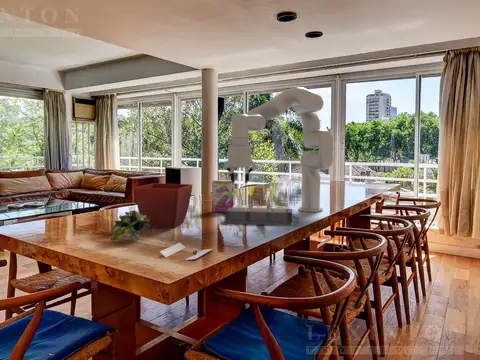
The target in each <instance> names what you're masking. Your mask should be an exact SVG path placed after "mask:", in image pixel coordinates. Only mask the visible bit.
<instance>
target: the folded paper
mask: <svg viewBox="0 0 480 360" xmlns="http://www.w3.org/2000/svg"><path fill="white" fill-rule="evenodd" d="M183 249H186V247H185V245H183V243H181V242H178V243H175V244H173V245H171V246H169V247H167V248H165V249H162V250H160V251H159V253H161V255H162V256H164V257H165V258H168V257H169V256H171V255H174V254H175V253H177V252H179V251H182V250H183ZM212 250H213V248H209V249H203V250H200V251H199V252H198V250H195V251H192V255H191V256H190V257H187V258H185V259H184V260H185V261H188V260H196V259H199V258H200V257H201V256H203V255H205V254H207V253H208V252H211V251H212Z"/></svg>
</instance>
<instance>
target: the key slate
mask: <svg viewBox="0 0 480 360" xmlns="http://www.w3.org/2000/svg"><path fill="white" fill-rule="evenodd" d="M247 208H248V205H245V204H244V205H240V204H239V205H237V204H234V206H233V207H232V211H247Z"/></svg>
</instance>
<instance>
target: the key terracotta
mask: <svg viewBox="0 0 480 360" xmlns="http://www.w3.org/2000/svg"><path fill="white" fill-rule="evenodd" d="M251 208H252V211H261V212H267V208H268V207H267V205H253V206H252V207H251Z"/></svg>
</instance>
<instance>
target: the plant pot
mask: <svg viewBox="0 0 480 360" xmlns="http://www.w3.org/2000/svg"><path fill="white" fill-rule="evenodd" d="M192 192H193V184H190V183H188V184H186V183H154V182H153V183H148V184H144V185H139V186H135V187H133V193H134V198H135V201H136V205H137V209H138V213H140V214H141V213H142V214H143V215H147V218H149V216H150V221H149V222H148V223H147V224H149V225H150V228H159V229H175V228H176V227H178V226H180V225H182V224H183V223H185V219H186V216H187V213H188V210H189V206H190V202H191V197H192ZM146 220H147V219H146Z"/></svg>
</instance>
